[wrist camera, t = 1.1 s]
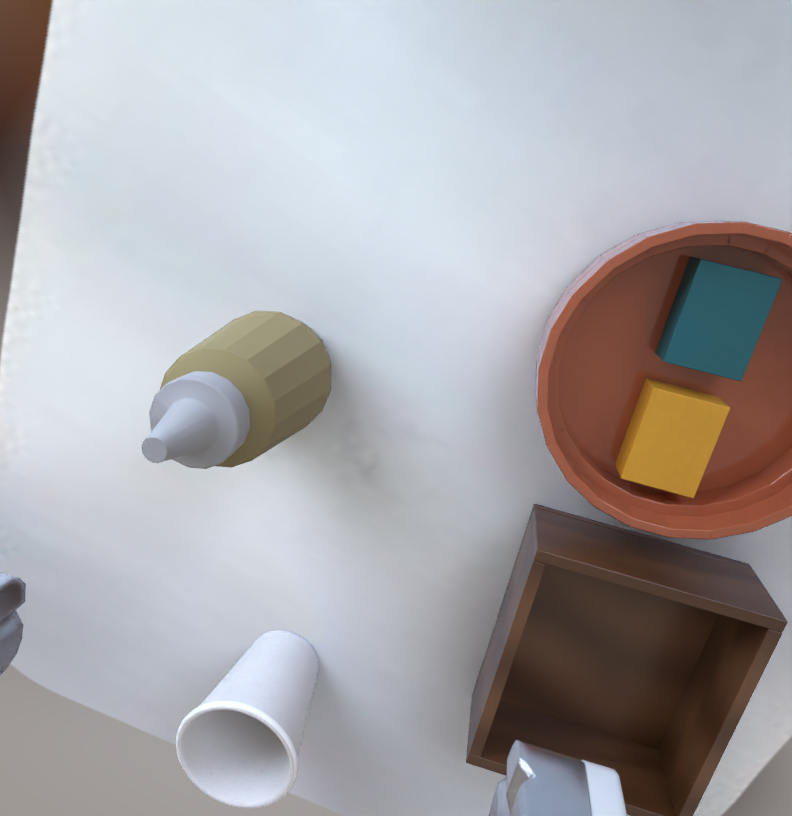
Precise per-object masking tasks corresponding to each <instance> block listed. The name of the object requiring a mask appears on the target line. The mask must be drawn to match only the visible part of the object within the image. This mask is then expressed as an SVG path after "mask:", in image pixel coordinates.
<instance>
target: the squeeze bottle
mask: <svg viewBox="0 0 792 816" xmlns="http://www.w3.org/2000/svg"><path fill="white" fill-rule="evenodd" d="M330 391H331V364H330V360H329V356H328V354H327V351H326V349H325V346H324V344H323V342H322V340H321V339H320V338H319V337H318V336H317V335H316V334H315V333H314V331H313V330H312V329H311V328H310V327H308V326H307V325H306V324H304V323H303V322H301V321H298V320H296V319H294V318H292V317H290V316H288V315H285V314H283V313H281V312H269V311H254V312H252V313H249V314H247V315H244V316H242V317H239V318H237V319H234V320H233V321H231V322H230V323H228V324H227V325H225V326H224V327H223V328H221V329H220V330H218V331H217V332H215V333H214V334H212V335H211V336H210V337H208V338H207V339H205V340H204V341H202V342H201V343H199V344H198V345H196V346H195V347H194V348H192V349H191V350H189V351H188V352H186V353H185V354H183V355H182V356H180V357H179V358H178V360H177V361H176V362H175V363H174V364H173V365H172V366H171V367H170V368H169V369H168V370H167V372H166V373H165V375H164V378H163V382H162V385H161V388H160V391H159V392H158V393H157V394H156V395H155V396H154V399H153V403H152V406H151V409H150V423H151V430H152V432H151V433H150V434H149V435H148V437H147V438H146V439H145V441H144V442H143V444H142V452H143V454H144V456H145V457H146V458H147V459H148V460H149V461H151V462H155V463H159V462H162V461H166V460H170V459H172V460H174V461H177V462H179V463H181V464H183V465H185V466H187V467H191V468H204V469H207V468H209V467H212V466H221V467H234V466H237V465H240V464H243V463H246V462H249V461H251V460H253V459H255V458H256V457H258V456H260V455H261V454H263V453H264V452H266V451H268V450H269V449H271V448H272V447H274V446H276V445H277V444H279V443H280V442H282V441H284V440H285V439H287V438H288V437H290V436H291V435H293V434H295V433H296V432H298V431H299V430H301V429H303V428H304V427H306V426H307V425H308V424H309V423H310V422H311V421H312V420H313V419H314V418H315V417H316V416H317V415H319V414H320V413H321V412H322V410H323V408H324V405H325V403H326V401H327V398H328V396H329V393H330Z"/></svg>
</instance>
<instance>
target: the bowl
mask: <svg viewBox="0 0 792 816" xmlns="http://www.w3.org/2000/svg"><path fill="white" fill-rule="evenodd" d="M689 257H695V258H699V259H703V260H707V261H711V262H716V263H720V264H724V265H728V266H732V267H736V268H741V269H745V270H749V271H753V272H757V273H761V274H766V275H770V276H774V277H778V278H782V282H781V285H780V287H779V290H778V292H777V295H776V297H775V300H774V302H773V304H772V307H771V309H770V312H769V314H768V317H767V319H766V322H765V324H764V327H763V329H762V331H761V334H760V336H759V339H758V341H757V344H756V346H755V349H754V351H753V354H752V356H751V358H750V361H749V363H748V366H747V368H746V371H745V373H744V376H743V378H742V380H741V381H737V380H733V379H729V378H725V377H721V376H717V375H713V374H710V373H706V372H702V371H698V370H694V369H690V368H686V367H682V366H678V365H674V364H670V363H666V362H664V361H663V360H662V359H661V358H660V357H659V356H658V355H657V354H656V353H655V352H656V349H657V346H658V343H659V341H660V338H661V335H662V332H663V329H664V327H665V324H666V321H667V318H668V316H669V313H670V310H671V307H672V304H673V302H674V299H675V296H676V293H677V291H678V288H679V285H680V282H681V279H682V277H683V274H684V271H685V268H686V266H687V263H688V260H689ZM646 378H649V379H652V380H656V381H660V382H664V383H668V384H672V385H676V386H679V387H683V388H687V389H691V390H695V391H699V392H703V393H707V394H710V395H714V396H718V397H719V398H720V399H721V400H722V401H724V402H725V403H726V404H727V405H728V406H729V407H730V410H729V413H728V415H727V418H726V420H725V423H724V425H723V427H722V430H721V432H720V435H719V437H718V440H717V442H716V445H715V447H714V450H713V452H712V454H711V457H710V459H709V462H708V464H707V467H706V469H705V472H704V474H703V476H702V479H701V481H700V484H699V486H698V489H697V491H696V494H695V496H694V498H690V497H687V496H683V495H679V494H676V493H672V492H668V491H665V490H661V489H657V488H654V487H650V486H646V485H643V484H639V483H635V482H632V481H628V480H625V479H621V478H620V475H619V473H618V470H617V468H616V465H615V463H616V460H617V457H618V454H619V451H620V449H621V446H622V443H623V440H624V438H625V435H626V432H627V429H628V426H629V424H630V421H631V418H632V415H633V413H634V410H635V407H636V404H637V401H638V399H639V396H640V393H641V390H642V388H643V385H644V382H645V379H646ZM535 392H536V401H537V410H538V414H539V418H540V422H541V426H542V429H543V433H544V437H545V441H546V445H547V448H548V449H549V451H550V453H551V454H552V456H553V458H554V460H555V461H556V463H557V465H558V466H559V468H560V470H561V471H562V473H563V475H564V477H565V478H566V479H567V481H568V482H569V483H570V484H571V485H572V486H573V487H574V488H575V489H576V490H577V491H578V492H579V493H581V494H582V495H583V496H584V497H585V498H586V499H587V500H588V501H589V502H590V503H591V504H592V505H593V506H595V507H596V508H597V509H599V510H601V511H603V512H605V513H606V514H608V515H610V516H612V517H613V518H615V519H617V520H619V521H620V522H622V523H624V524H626V525H628V526H630V527H633V528H637V529H641V530H644V531H648V532H651V533H655V534H658V535H662V536H665V537H671V538H693V539H716V538H721V537H727V536H732V535H738V534H744V533H749V532H754V531H757V530H759V529H762V528H764V527H766V526H769V525H771V524H774V523H776V522H778V521H781V520H783V519H785V518H788V517H790V516H792V233H790V232H786V231H782V230H778V229H773V228H769V227H765V226H761V225H756V224H752V223H748V222H736V221H703V222H679V223H674V224H671V225H667V226H664V227H661V228H657V229H654V230H650V231H647V232H643V233H640V234H637V235H634V236H633V237H631V238H629V239H627V240H626V241H624V242H622V243H621V244H619V245H617V246H615V247H614V248H612V249H610V250H608V251H607V252H605V253H603V254H602V255H600V256H599V257H597V258H596V259H595V260H594V261H593V262H592V263H591V264H590V265H589V266H588V267H587V268H586V269H585V270H584V271H583V272H582V273H581V274H580V275H579V276H578V277H576V278H575V279H574V280H573V281H572V282H571V283H570V284H569V286H568V287H567V288H566V290H565V291H564V293H563V295H562V296H561V298H560V300H559V301H558V303H557V304H556V306H555V308H554V309H553V311H552V313H551V314H550V316H549V317H548V320H547V322H546V325H545V329H544V332H543V335H542V339H541V342H540V345H539V348H538V352H537V356H536V387H535Z"/></svg>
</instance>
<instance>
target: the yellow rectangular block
mask: <svg viewBox="0 0 792 816" xmlns="http://www.w3.org/2000/svg"><path fill="white" fill-rule="evenodd" d="M729 410H730V407H729V406H728V405H727V404H726V403H725V402H724V401H722V400H721V399H720V398H719V397H718V396H714V395H710V394H707V393H703V392H699V391H695V390H691V389H687V388H683V387H679V386H676V385H672V384H668V383H664V382H660V381H656V380H652V379H649V378H646V379H645V382H644V385H643V388H642V390H641V393H640V396H639V399H638V401H637V404H636V407H635V410H634V413H633V415H632V418H631V421H630V424H629V426H628V429H627V432H626V435H625V438H624V440H623V443H622V446H621V449H620V451H619V454H618V457H617V460H616V463H615V465H616V468H617V470H618V473H619V475H620V478H621V479H625V480H628V481H632V482H635V483H639V484H643V485H646V486H650V487H654V488H657V489H661V490H665V491H668V492H672V493H676V494H679V495H683V496H687V497H690V498H694V496H695V494H696V491H697V489H698V486H699V484H700V481H701V479H702V476H703V474H704V472H705V469H706V467H707V464H708V462H709V459H710V457H711V454H712V452H713V450H714V447H715V445H716V442H717V440H718V437H719V435H720V432H721V430H722V427H723V425H724V423H725V420H726V418H727V415H728V413H729Z"/></svg>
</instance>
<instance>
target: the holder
mask: <svg viewBox="0 0 792 816" xmlns="http://www.w3.org/2000/svg"><path fill="white" fill-rule="evenodd" d="M786 624H787V620H786V618H785V617H784V615H783V614H782V612H781V611H780V609H779V608H778V606H777V605H776V603H775V602H774V600H773V599H772V597H771V596H770V594H769V593H768V591H767V590H766V588H765V587H764V585H763V584H762V582H761V581H760V579H759V578H758V576H757V575H756V573H755V572H754V570H753V569H752V567H751V566H750V565H749V564H747V563H743V562H740V561H736V560H732V559H729V558H725V557H722V556H718V555H715V554H711V553H707V552H704V551H700V550H697V549H693V548H690V547H686V546H683V545H679V544H675V543H672V542H668V541H665V540H661V539H658V538H654V537H651V536H647V535H643V534H640V533H636V532H633V531H629V530H626V529H622V528H619V527H615V526H611V525H608V524H604V523H601V522H597V521H594V520H590V519H587V518H583V517H579V516H576V515H572V514H569V513H565V512H562V511H558V510H554V509H551V508H547V507H544V506H540V505H537V504H534V506H533V509H532V512H531V515H530V518H529V521H528V524H527V528H526V531H525V534H524V537H523V540H522V543H521V546H520V549H519V552H518V555H517V558H516V561H515V565H514V568H513V571H512V574H511V577H510V580H509V583H508V586H507V589H506V592H505V595H504V598H503V601H502V605H501V608H500V611H499V614H498V617H497V620H496V623H495V626H494V629H493V632H492V635H491V638H490V641H489V645H488V648H487V651H486V654H485V657H484V660H483V663H482V666H481V669H480V672H479V675H478V678H477V682H476V685H475V688H474V691H473V694H472V701H471V712H470V724H469V735H468V746H467V757H466V763H469V764H472V765H475V766H478V767H481V768H485V769H488V770H491V771H494V772H497V773H500V774H503V775H506V776H507V758H508V755H509V753H510V750H511V748H512V746H513V744H514V742H515V741H516V740H519V741H522V742H525V743H529V744H532V745H535V746H538V747H541V748H544V749H547V750H551V751H554V752H557V753H560V754H563V755H566V756H570V757H573V758H576V759H579V760H585V761H588V762H592V763H595V764H598V765H602V766H605V767H608V768H612V769H615V770H616V772H617V773H618V775H619V778H620V783H621V788H622V793H623V798H624V803H625V808H626V813H627V814H628V815H631V816H693V814H694V812H695V810H696V808H697V806H698V804H699V802H700V800H701V798H702V796H703V794H704V792H705V790H706V788H707V786H708V784H709V782H710V780H711V778H712V776H713V774H714V771H715V769H716V767H717V765H718V763H719V761H720V759H721V757H722V755H723V753H724V751H725V749H726V747H727V745H728V743H729V741H730V739H731V737H732V735H733V733H734V731H735V729H736V727H737V725H738V722H739V720H740V718H741V716H742V714H743V712H744V710H745V708H746V706H747V704H748V702H749V700H750V698H751V696H752V694H753V692H754V690H755V688H756V686H757V684H758V682H759V680H760V678H761V675H762V673H763V671H764V669H765V667H766V665H767V663H768V661H769V659H770V657H771V655H772V653H773V651H774V649H775V647H776V645H777V643H778V641H779V639H780V637H781V635H782V632H783V630H784V628H785V626H786Z"/></svg>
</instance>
